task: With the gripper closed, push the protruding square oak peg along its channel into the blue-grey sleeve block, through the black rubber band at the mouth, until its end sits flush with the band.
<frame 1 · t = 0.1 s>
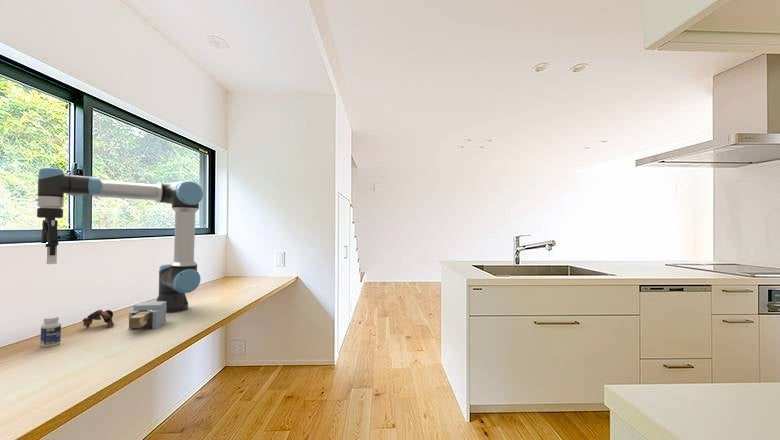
hand: (48, 262, 145), 28 cm above the countertop, fingers open, 13 cm apart
pill bottle: (50, 345, 134), on the countertop
sleeve block: (148, 325, 161), on the countertop
peg: (141, 319, 154), point 5 cm above the countertop, slide at 0.0 cm
brown curved piece: (100, 327, 157), on the countertop
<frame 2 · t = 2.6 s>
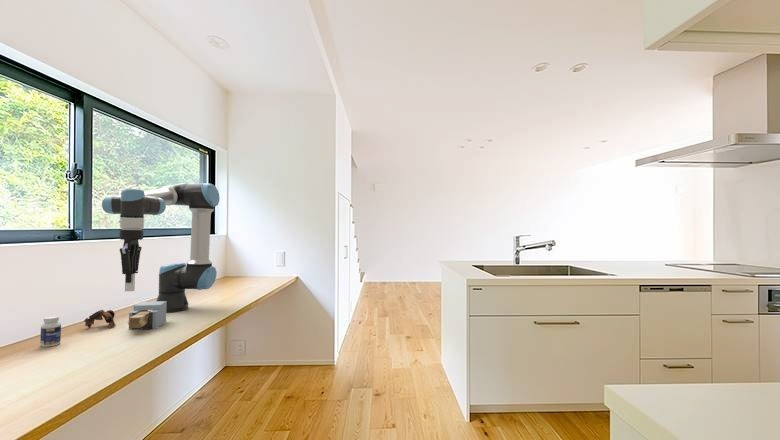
hand: (129, 290, 143), 18 cm above the countertop, fingers closed
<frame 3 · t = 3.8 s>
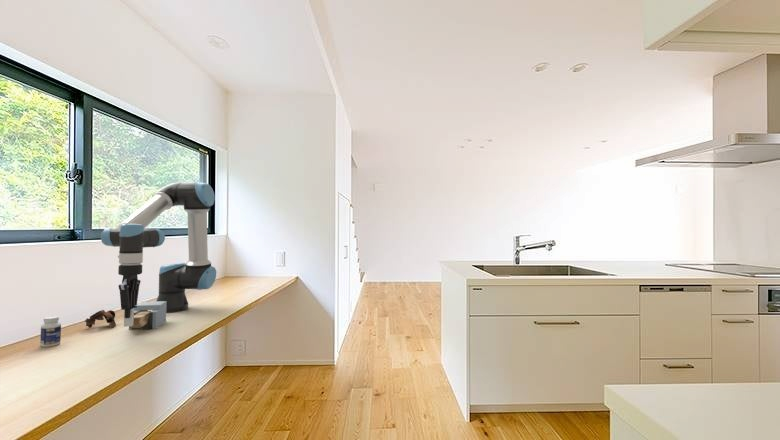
hand: (128, 325, 143), 5 cm above the countertop, fingers closed
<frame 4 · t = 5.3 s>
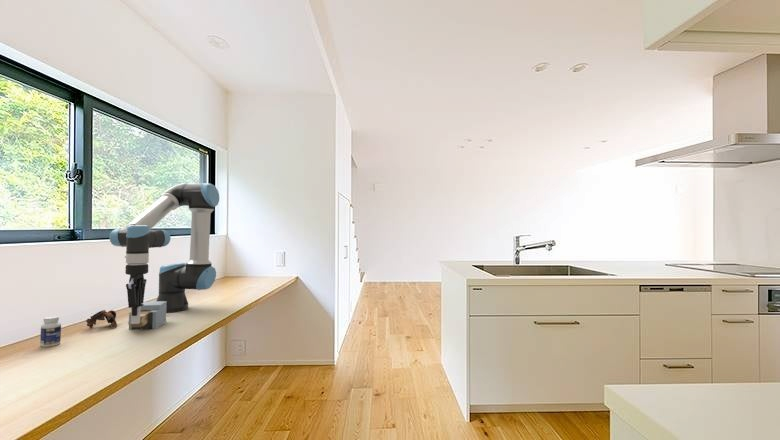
hand: (135, 323, 148), 4 cm above the countertop, fingers closed
peg: (142, 318, 155), point 5 cm above the countertop, slide at 1.5 cm, touching gripper
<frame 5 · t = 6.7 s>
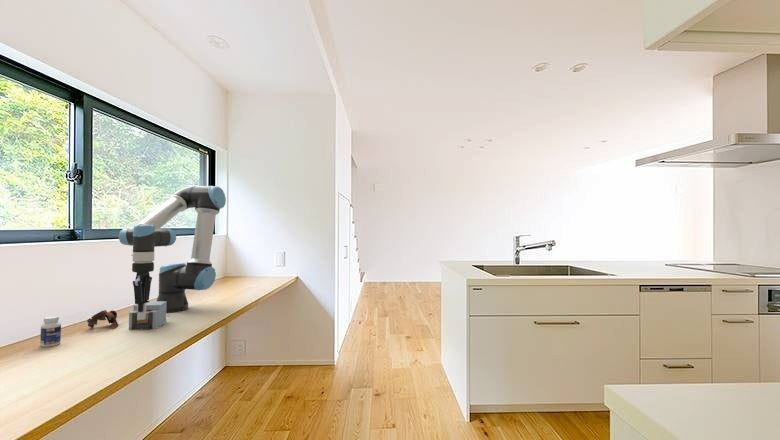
hand: (141, 319, 154), 4 cm above the countertop, fingers closed
peg: (148, 314, 161), point 5 cm above the countertop, slide at 7.2 cm, touching gripper
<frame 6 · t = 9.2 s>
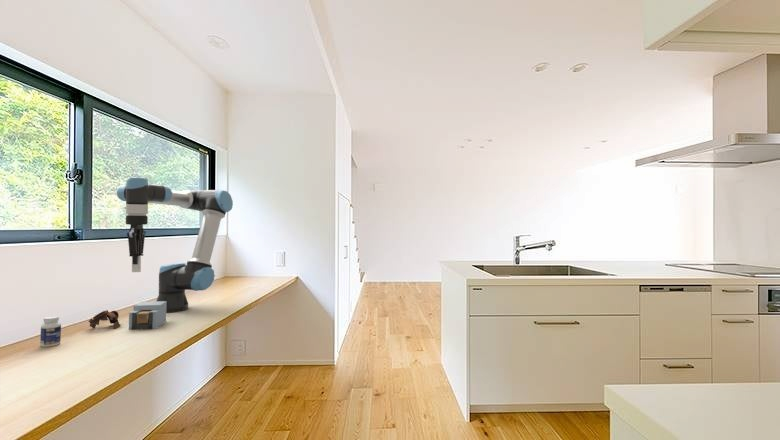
hand: (136, 271, 155), 24 cm above the countertop, fingers closed
peg: (148, 314, 161), point 5 cm above the countertop, slide at 7.2 cm
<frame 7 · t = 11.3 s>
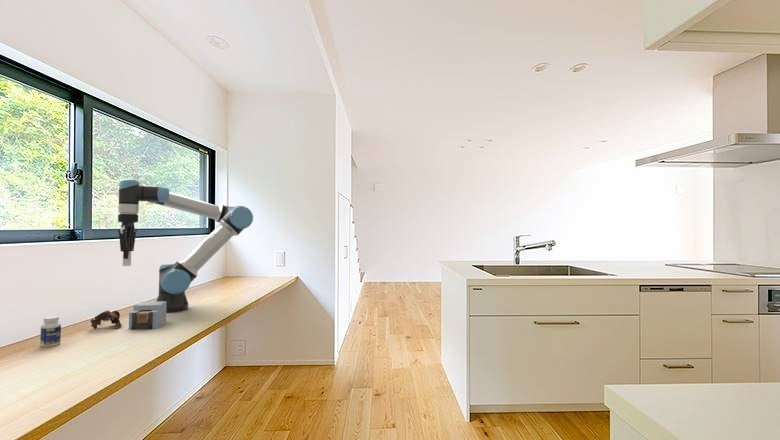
hand: (126, 265, 169), 24 cm above the countertop, fingers closed
at the end: peg slide at 7.2 cm; peg touching nothing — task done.
